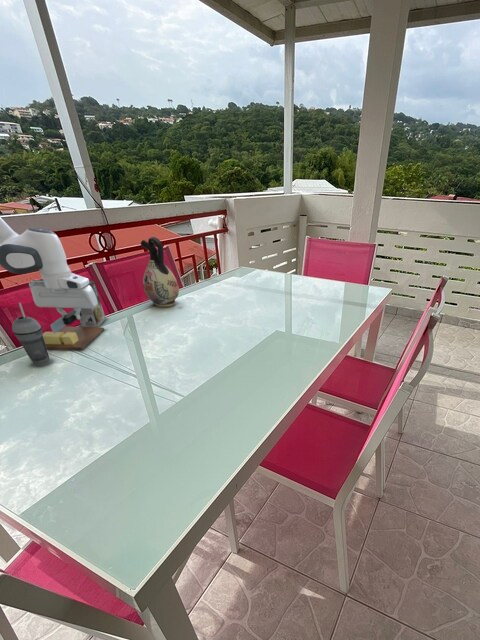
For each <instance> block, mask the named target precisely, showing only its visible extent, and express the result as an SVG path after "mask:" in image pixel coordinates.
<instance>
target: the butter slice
mask: <svg viewBox="0 0 480 640" xmlns="http://www.w3.org/2000/svg"><path fill="white" fill-rule="evenodd" d="M62 340H63V342H64V344H65V345H73V344H74V343H76V342H77V341H78V337H77V334H76V332H67V333H65V334H64V335H63V336H62Z"/></svg>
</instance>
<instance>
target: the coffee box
mask: <svg viewBox="0 0 480 640" xmlns="http://www.w3.org/2000/svg"><path fill="white" fill-rule="evenodd" d="M88 285H89V286H90V287H92V289H93V291H94V293H95V295H96V298H97V301H98V304H97V306H96V307H94V308H81V314H82V316H81V318H80V319H78V320H79V323H80V327H100V326H101V325H102V324H103V323H104V321H105V320H106V315H105V311H104V309H103V305H102V302H101V298H100V295H99V292H98V291H99V290H98V288H97V285H96V282H95V280H89V284H88ZM103 317H105V318H103Z"/></svg>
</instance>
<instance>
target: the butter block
mask: <svg viewBox="0 0 480 640" xmlns="http://www.w3.org/2000/svg"><path fill="white" fill-rule="evenodd" d="M63 335H64V332H56V333H55V334H54V333H53V331H44V332H43V338H44V341H45V344H62V343H63V340H62V336H63Z"/></svg>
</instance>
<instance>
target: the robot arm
mask: <svg viewBox="0 0 480 640" xmlns="http://www.w3.org/2000/svg"><path fill="white" fill-rule="evenodd" d="M0 267H1V268H2V269H4V270H6V271H7V272H9V273H11V274H15V275H26V274H30V273H34V272H37V271H38V272H39V274H40V277H41V279H31V280H30V281H29V282H28V286H29V289H30V292H31V295H32V299H33V303H34V304H35V306H36V307H37V308H55V309H56V311H57V312H58V313H59V314H60V315H61V317H62V316H65V315H66V314H68V313H69V312H66V311H65V310H64V309H73V310H74V311H76V313H75V314H74V315H73V317H74V319H77V320H79V319H80V318H81V317H80V311H81V308H94V307H96V306H97V304H98V301H97V298H96V295H95V293H94V291H93V289H92V287H90V286H89V285H88V284H89V281H90V279H89V278H87V277H85V276H83V275H82V276H81V275H79V274H76V273H73V272H72V270H71V268H70V266H69V265H68V262H67V255H66V252H65V249H64V247H63V244H62V241H61V240H60V238H59V236H58V235H57V234H56V232H54V231H52V230H50V229H47V228H41V227H28V228H26V230H25V231H23V232H22V233H21V234H20V233H18V232H17V231H16V230H15V229H13V228H12V227H11V226H10V225H9V223H7V222H6V221H5V220H4V219H3V218H2V217H1V216H0Z"/></svg>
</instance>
